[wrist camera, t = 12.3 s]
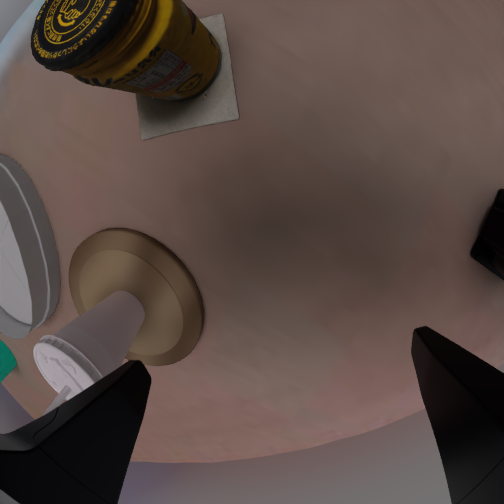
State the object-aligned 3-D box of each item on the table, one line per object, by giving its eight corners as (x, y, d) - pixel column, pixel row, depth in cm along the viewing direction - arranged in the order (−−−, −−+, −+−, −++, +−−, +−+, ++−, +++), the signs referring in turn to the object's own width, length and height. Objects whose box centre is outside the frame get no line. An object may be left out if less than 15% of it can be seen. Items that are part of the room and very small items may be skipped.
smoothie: (110, 333, 25) (31, 436, 12) (90, 275, 23) (-18, 371, 10) (166, 340, 24) (93, 469, 11) (148, 276, 22) (36, 403, 9)
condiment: (223, 14, 15) (152, -82, 4) (239, 119, 18) (162, 92, 7) (132, 42, 16) (18, 0, 5) (143, 140, 19) (14, 158, 8)
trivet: (225, 268, 22) (222, 275, 21) (184, 378, 27) (181, 385, 26) (80, 204, 22) (73, 208, 21) (74, 321, 27) (69, 326, 26)
